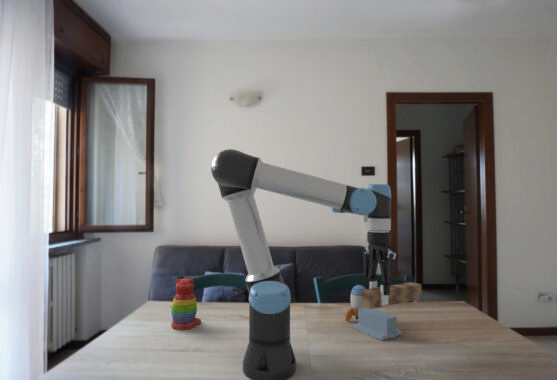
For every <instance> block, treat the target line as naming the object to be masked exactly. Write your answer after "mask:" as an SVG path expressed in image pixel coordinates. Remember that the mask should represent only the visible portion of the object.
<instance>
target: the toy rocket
mask: <svg viewBox="0 0 557 380" xmlns="http://www.w3.org/2000/svg"><path fill="white" fill-rule="evenodd" d="M366 289H367V288H366V287H365V286H363V285H360V284H357V285H355V286H353V287H352V289H351V291H350V306H351V308H349V309H348V310H347V311H346V314H345V322H346V321H349V322H350V321H351V319H352V318H353V316H354V317H355V319H356V320H358V308H362V307H363V306H361V290H366Z"/></svg>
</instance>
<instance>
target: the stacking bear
mask: <svg viewBox="0 0 557 380" xmlns="http://www.w3.org/2000/svg"><path fill="white" fill-rule="evenodd" d="M194 283H195V282H194V280H193V278H190V279H189V278H177V279H176V285H175V290H176V294H174V297H173V301H172V304H171V311H170V312H171V318H172V321H171V324H170V325H171V328H172V329H173V330H176V331H186V330H191V329H194V328H196V327H198V326H200V324H201V323H202V320H201V318H199V317H197V312H198V304H197V300H196V296H195V294H194V293H193V291H194V287H195V284H194Z"/></svg>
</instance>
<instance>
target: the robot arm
mask: <svg viewBox="0 0 557 380" xmlns="http://www.w3.org/2000/svg"><path fill="white" fill-rule="evenodd" d="M210 167H211V168H210V170H211V171H210V172H211V175H212V178H213V179H214V181H215V182H216V183H217V186H218V190H219V192H220V196H221V199H222V200H224V201H226V202H227V203H228V206H229V210H230V214H231V218H232V221H233V223H234V225H233V226H234V228H235V232H236V234H237V238H238V242H239V246H240V249H241V253H242V256H243V261H244V263H245V266H246V270H247V275H246V278H245V285H246V289H247V292H248V302H249V303H248V304H249V307H248V308H249V309H248V310H249V313H248V314H249V315H248V316H249V317H248V318H249V319H248V324H249V328H248V329H249V331H248V333H249V334H248V335H249V336H248V344H247V346H246V350H245V352H244V355H243V360H242V372H243V374H244V375H245V376H246V377H247V378H250V379H251V380H287V379H288V378H291V377H292V376H293V375H294V374H295V373H296V372H297V359H296V355H295V352H294V350H293V347H292V343H291V301H292V296H291V289H290V288H289V286H288V285H287V284H285V283H284V279H283V276H282V274H281V270H280V268H278V267H277V266H275V265H274V262H273V259H272V255H271V251H270V248H269V244H268V241H267V237H266V234H265V231H264V227H263V224H262V223H263V222H262V220H261V216H260V214H259V210H258V209H259V208H258V206H257V202H256V198H255V193H256V191H257V189H259V190H263V191H266V192H267V191H268V192H271V193H275V194H278V195H283V196H286V197H290V198H294V199H298V200H303V201H306V202H309V203H310V202H311V203H313V204H317V205H320V206H324V207H329V208H330V209H331V211H332V213H335V214H336V213H338V214H353V215H358V216H365V215H366V218H367V220H366V222H367V223H366V227H367V228H366V230H367V232H366V238H367V239H366V242H367V243H368V245H367V247H366V248H365V247H364V248H362V249H361V254H362V257H363V258H362V259H363V260H362V261H363V263H362V265H363V278H364V279H366V280H367V281H368V289H373V288H378V281H377V278H376V276H377V272H378V271H377V270H378V265H379V268H380V274H381V281H382V283H380V287H381V305H382V306H384V305H388V295H389V294H390V286H391V285H395V284H396V273H397V272H396V270H397V268H396V267H397V258H398V253H397V252H393V251H392V250H391V247H390V244H391V243H392V233H391V232H390V231H391V230H392V228H391V227H392V220H391V219H392V190H391V186H390V185H389V184H384V183H375V184H373V183H372V184H368V185H367V186H366V188H364V187H356V186H351V185H348V184H345V183H342V182H337V181H334V180H330V179H326V178H322V177H318V176H314V175H312V174H311V175H310V174H309V173H303V172H299V171H296V170H293V169H288V168H286V167H285V168H284V167H280V166H276V165H273V164H270V163H266V162H263V160H262V159H261V158H260V157H257V156H253V155H250V154H247V153H244V152H243V151H240V150H237V149H233V148H231V149H230V148H229V149H228V148H227V149H224V150H222V151H220V152H218V153H217V154H216V155H215V156H214V157H213V159H212V162H211V166H210ZM384 307H385V306H384Z"/></svg>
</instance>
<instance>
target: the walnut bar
mask: <svg viewBox="0 0 557 380" xmlns="http://www.w3.org/2000/svg"><path fill="white" fill-rule="evenodd" d="M422 286H423V285H422V284H421V283H417V282H413V281H410V282H404V283H399V284H398V283H397V284H390V294H389V295H388V305H384V306H382V305H381V286H380V287H377V288H373V289H369V288H368V289H367V288H366V290H361V306H363V307H366V308H368V309H377V308H378V309H379V308H382V307H389V306H393V305H398V304H403V303H408V302H412V301H419V300H422V298H423V297H422V296H423V295H422V293H423V292H422V291H423V289H422Z"/></svg>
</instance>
